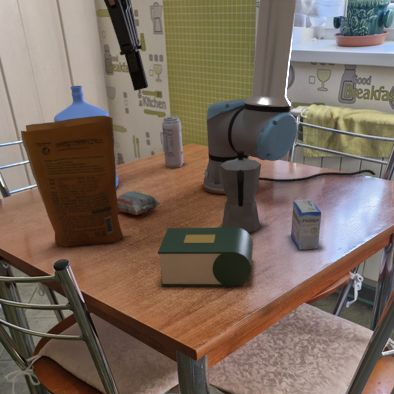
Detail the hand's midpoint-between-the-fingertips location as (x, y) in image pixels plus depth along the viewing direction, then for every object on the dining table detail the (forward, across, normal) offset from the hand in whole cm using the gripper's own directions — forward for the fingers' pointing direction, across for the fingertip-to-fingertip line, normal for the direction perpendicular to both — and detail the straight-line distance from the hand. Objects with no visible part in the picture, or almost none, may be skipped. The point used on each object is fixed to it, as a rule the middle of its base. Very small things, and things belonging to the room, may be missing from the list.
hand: (141, 88), depth 104 cm
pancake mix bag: (+30, +2, -22) cm, 37 cm away
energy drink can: (+34, -60, -9) cm, 70 cm away
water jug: (+30, -39, -31) cm, 58 cm away
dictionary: (+34, +18, +8) cm, 39 cm away
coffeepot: (+36, -5, +14) cm, 39 cm away
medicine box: (+38, +4, +29) cm, 48 cm away
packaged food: (+32, -17, -14) cm, 39 cm away
